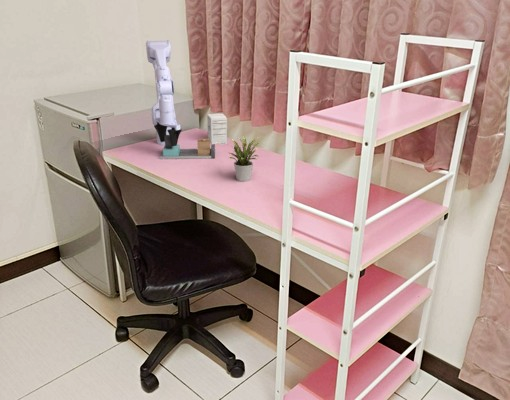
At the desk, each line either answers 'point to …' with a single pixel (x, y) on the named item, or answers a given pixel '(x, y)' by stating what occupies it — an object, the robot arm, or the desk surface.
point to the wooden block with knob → (203, 147)
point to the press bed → (191, 154)
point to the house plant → (244, 160)
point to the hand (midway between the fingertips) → (168, 143)
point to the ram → (170, 148)
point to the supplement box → (217, 128)
